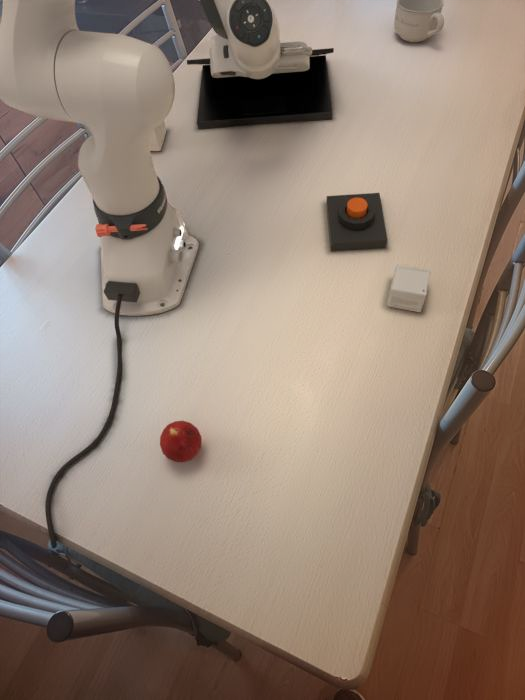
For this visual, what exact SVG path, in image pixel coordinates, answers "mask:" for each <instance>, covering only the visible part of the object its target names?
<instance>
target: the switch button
mask: <svg viewBox="0 0 525 700" xmlns="http://www.w3.org/2000/svg"><path fill="white" fill-rule="evenodd" d="M367 206H368V204H367V202H366V200H364V199H362V198H352V199H350V200H349V201H348V203H347V214H348V216H350V217H352V218H355V219H356V218H362V217H364V216H365V215H366V213H367Z"/></svg>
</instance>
